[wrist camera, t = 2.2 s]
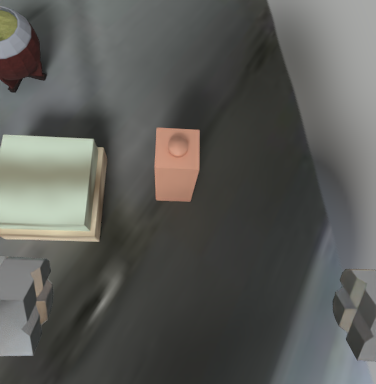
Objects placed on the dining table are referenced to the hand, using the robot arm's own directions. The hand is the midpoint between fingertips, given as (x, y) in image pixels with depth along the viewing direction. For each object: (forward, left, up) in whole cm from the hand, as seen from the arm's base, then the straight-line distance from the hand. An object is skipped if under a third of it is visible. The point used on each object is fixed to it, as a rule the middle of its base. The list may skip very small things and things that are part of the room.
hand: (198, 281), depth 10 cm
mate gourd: (+27, +20, -30) cm, 45 cm away
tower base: (+11, +13, -29) cm, 34 cm away
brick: (+13, 0, -29) cm, 32 cm away
